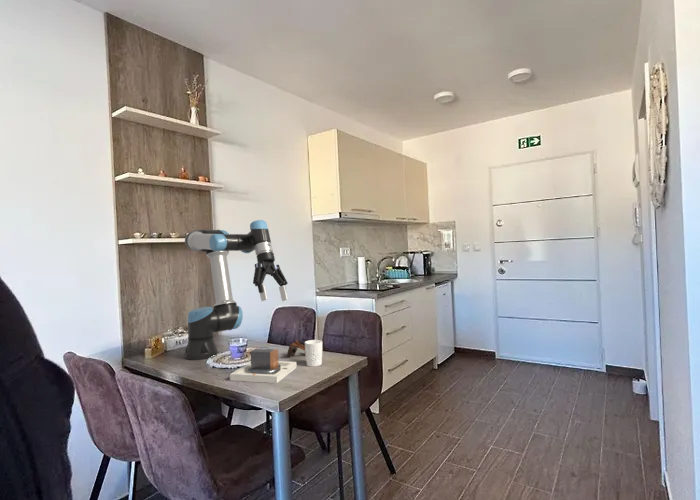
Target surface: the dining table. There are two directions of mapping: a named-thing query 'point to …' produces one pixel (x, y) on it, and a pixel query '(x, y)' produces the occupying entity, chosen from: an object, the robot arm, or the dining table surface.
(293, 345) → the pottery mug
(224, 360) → the dining table surface
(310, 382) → the dining table surface
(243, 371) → the dial panel
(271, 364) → the dial
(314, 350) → the white cup
